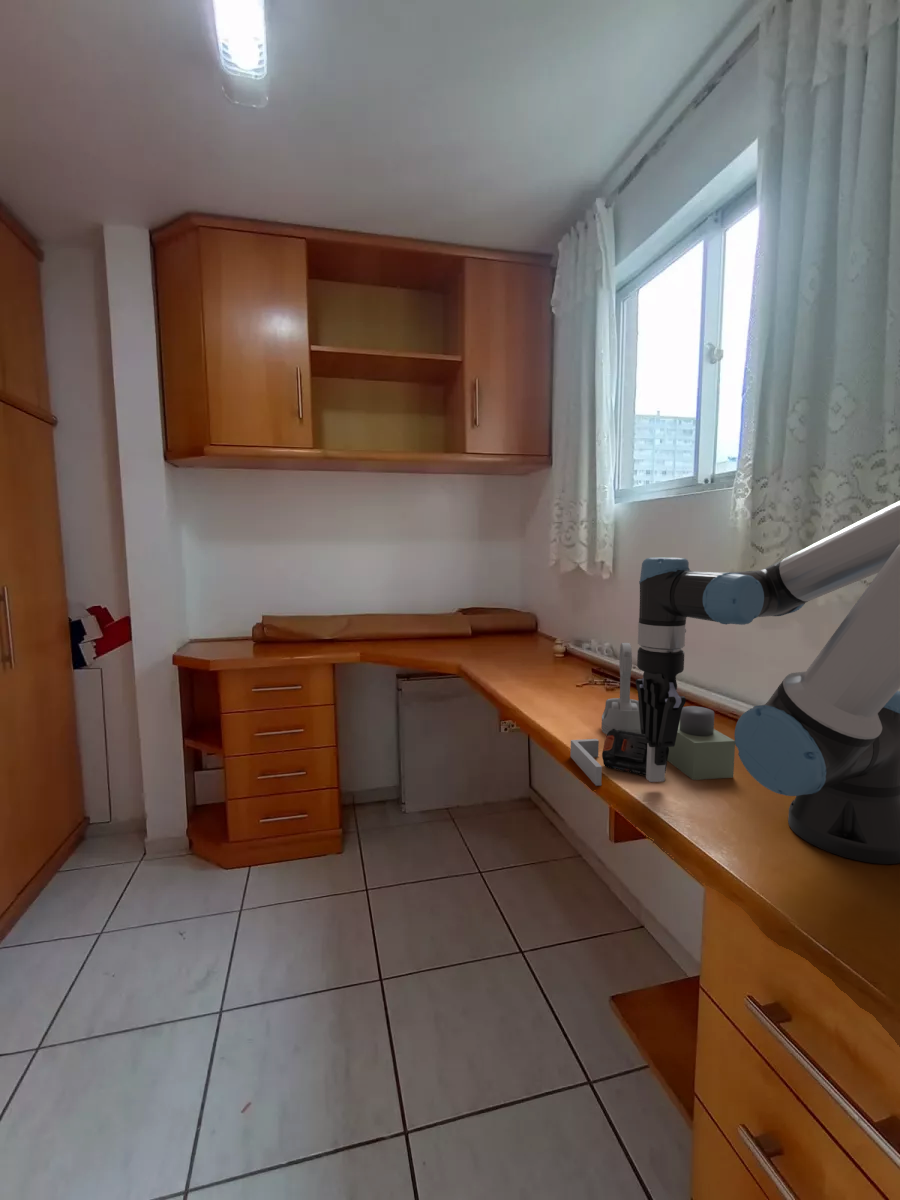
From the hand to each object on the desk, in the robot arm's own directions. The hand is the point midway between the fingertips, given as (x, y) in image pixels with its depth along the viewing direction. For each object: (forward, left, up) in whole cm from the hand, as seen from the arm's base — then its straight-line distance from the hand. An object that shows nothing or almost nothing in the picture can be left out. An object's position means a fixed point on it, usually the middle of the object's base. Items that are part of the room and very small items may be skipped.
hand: (655, 779), depth 97 cm
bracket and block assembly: (+10, -4, -2) cm, 11 cm away
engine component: (+30, -8, -2) cm, 31 cm away
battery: (+8, 0, -2) cm, 9 cm away
